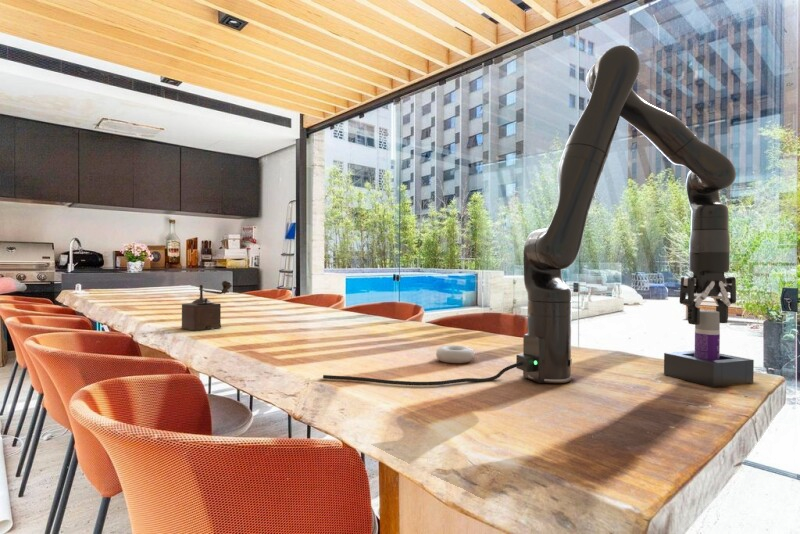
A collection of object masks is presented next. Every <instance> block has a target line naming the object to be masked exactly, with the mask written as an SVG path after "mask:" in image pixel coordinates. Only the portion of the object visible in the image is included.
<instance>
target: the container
mask: <svg viewBox="0 0 800 534" xmlns="http://www.w3.org/2000/svg"><path fill="white" fill-rule="evenodd" d="M720 324H721V323H720V319H719V312H718V311H716V310H702V309H700V323H699V325H694V351H695V357H696V358H701V359H706V360H711V361H712V360H719V354H721V351H720V348H721V347H720V344H721V327H720V326H721V325H720Z"/></svg>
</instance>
